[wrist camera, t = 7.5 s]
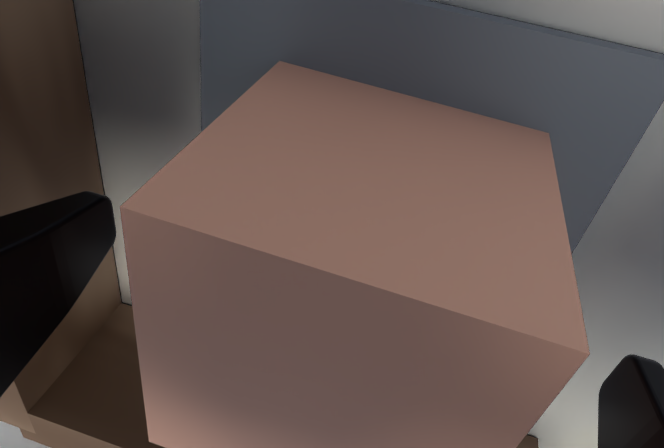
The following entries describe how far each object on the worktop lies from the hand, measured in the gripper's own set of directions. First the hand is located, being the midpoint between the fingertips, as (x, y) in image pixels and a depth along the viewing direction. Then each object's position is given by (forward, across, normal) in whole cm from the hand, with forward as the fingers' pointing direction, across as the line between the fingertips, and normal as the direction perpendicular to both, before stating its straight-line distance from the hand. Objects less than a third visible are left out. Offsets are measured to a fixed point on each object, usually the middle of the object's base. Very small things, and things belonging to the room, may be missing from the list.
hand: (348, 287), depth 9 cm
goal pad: (+3, 0, 0) cm, 3 cm away
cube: (+3, 0, 0) cm, 3 cm away
